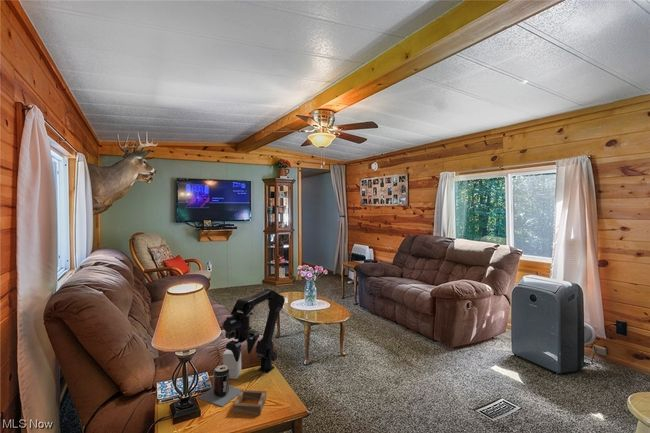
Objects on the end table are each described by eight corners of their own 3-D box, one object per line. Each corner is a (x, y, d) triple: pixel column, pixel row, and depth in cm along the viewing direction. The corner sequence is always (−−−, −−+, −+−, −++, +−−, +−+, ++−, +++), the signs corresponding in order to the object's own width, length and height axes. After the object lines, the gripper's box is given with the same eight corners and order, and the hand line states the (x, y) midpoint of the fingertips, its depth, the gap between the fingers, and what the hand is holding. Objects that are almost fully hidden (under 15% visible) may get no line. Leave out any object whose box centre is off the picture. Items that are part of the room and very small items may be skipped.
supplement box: (241, 371, 177) (241, 348, 176) (236, 379, 169) (237, 354, 169) (227, 371, 177) (227, 347, 177) (222, 378, 170) (222, 353, 169)
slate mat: (219, 383, 165) (219, 382, 165) (243, 390, 159) (243, 389, 159) (198, 398, 153) (198, 397, 153) (222, 407, 147) (222, 406, 147)
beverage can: (230, 395, 154) (230, 370, 154) (214, 399, 152) (214, 373, 151) (227, 388, 161) (227, 363, 160) (212, 391, 158) (212, 366, 157)
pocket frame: (241, 397, 154) (241, 390, 154) (266, 398, 154) (266, 391, 153) (233, 413, 143) (233, 405, 142) (260, 414, 142) (260, 406, 142)
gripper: (242, 317, 176) (241, 346, 177) (216, 329, 159) (216, 362, 160) (260, 320, 171) (259, 351, 172) (235, 333, 154) (235, 367, 155)
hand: (243, 357), depth 165 cm, fingers open, 9 cm apart
